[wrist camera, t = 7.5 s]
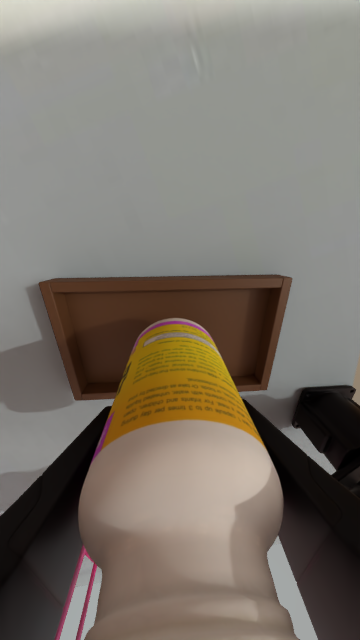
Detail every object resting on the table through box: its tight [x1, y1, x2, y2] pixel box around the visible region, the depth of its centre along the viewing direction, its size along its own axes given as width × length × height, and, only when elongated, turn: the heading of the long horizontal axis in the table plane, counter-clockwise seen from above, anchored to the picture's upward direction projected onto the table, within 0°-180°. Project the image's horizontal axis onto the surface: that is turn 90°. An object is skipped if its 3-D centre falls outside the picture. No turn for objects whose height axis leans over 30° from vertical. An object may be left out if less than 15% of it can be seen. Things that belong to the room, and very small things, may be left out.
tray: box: [39, 275, 292, 400], centre depth 16 cm, size 20×12×2 cm, turn 91°
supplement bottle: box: [78, 318, 300, 640], centre depth 8 cm, size 7×7×13 cm
